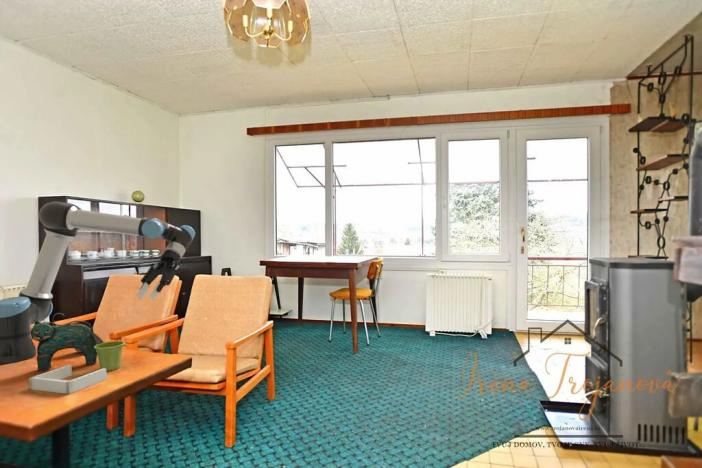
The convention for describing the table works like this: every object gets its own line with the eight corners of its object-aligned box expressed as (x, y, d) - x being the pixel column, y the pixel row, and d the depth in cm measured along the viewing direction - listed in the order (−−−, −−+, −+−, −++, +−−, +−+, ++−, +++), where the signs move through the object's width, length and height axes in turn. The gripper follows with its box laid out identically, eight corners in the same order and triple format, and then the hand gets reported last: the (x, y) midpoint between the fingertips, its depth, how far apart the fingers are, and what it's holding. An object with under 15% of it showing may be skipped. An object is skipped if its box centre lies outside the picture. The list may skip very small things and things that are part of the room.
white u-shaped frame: (29, 389, 130) (29, 378, 130) (69, 375, 143) (68, 364, 143) (69, 394, 126) (68, 382, 126) (106, 379, 138) (106, 368, 138)
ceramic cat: (30, 373, 146) (29, 316, 146) (36, 368, 152) (35, 313, 152) (96, 365, 153) (95, 311, 153) (99, 360, 159) (98, 308, 159)
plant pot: (101, 374, 143) (101, 349, 143) (90, 369, 148) (89, 345, 148) (129, 367, 150) (129, 343, 150) (117, 363, 156) (117, 339, 156)
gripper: (194, 260, 184) (169, 303, 168) (160, 260, 189) (132, 302, 174) (186, 248, 179) (159, 292, 163) (150, 249, 184) (121, 291, 168)
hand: (145, 297), depth 168 cm, fingers open, 6 cm apart
